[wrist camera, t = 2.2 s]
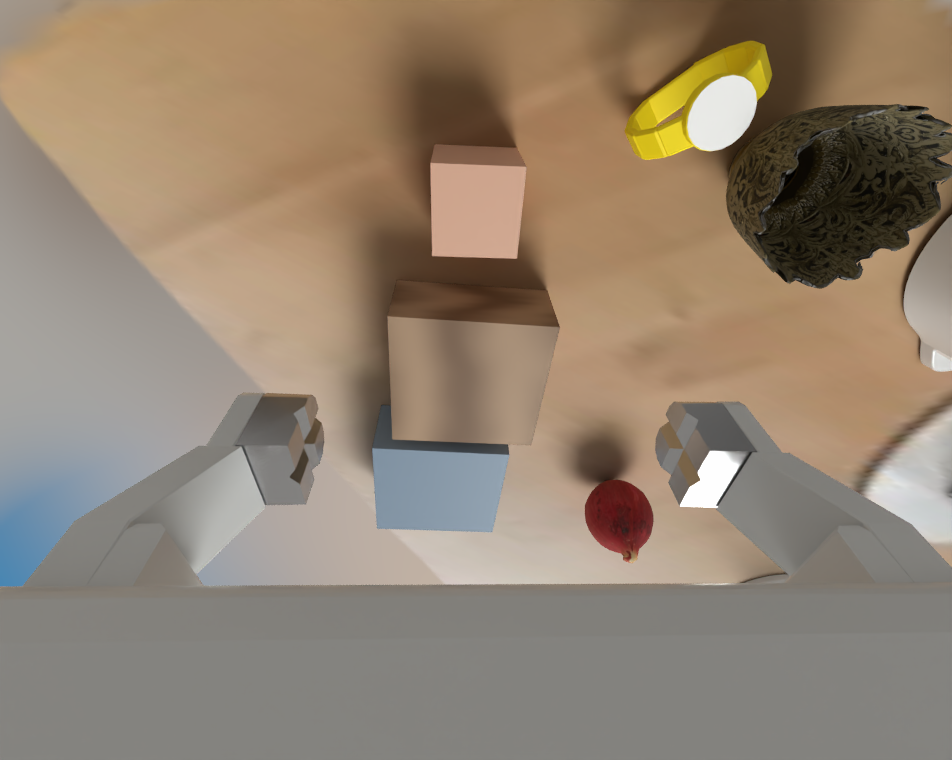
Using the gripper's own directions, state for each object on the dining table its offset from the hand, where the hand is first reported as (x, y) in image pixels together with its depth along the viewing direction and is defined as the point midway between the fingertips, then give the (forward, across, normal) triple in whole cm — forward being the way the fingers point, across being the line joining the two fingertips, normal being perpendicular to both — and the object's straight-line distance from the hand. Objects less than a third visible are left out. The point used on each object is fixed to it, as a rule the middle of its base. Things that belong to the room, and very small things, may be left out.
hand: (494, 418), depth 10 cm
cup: (+19, -16, -2) cm, 25 cm away
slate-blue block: (+20, +2, +22) cm, 29 cm away
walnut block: (+20, 0, +11) cm, 22 cm away
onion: (+19, -14, +26) cm, 35 cm away
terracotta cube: (+19, 0, 0) cm, 19 cm away
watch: (+19, -10, -5) cm, 22 cm away
